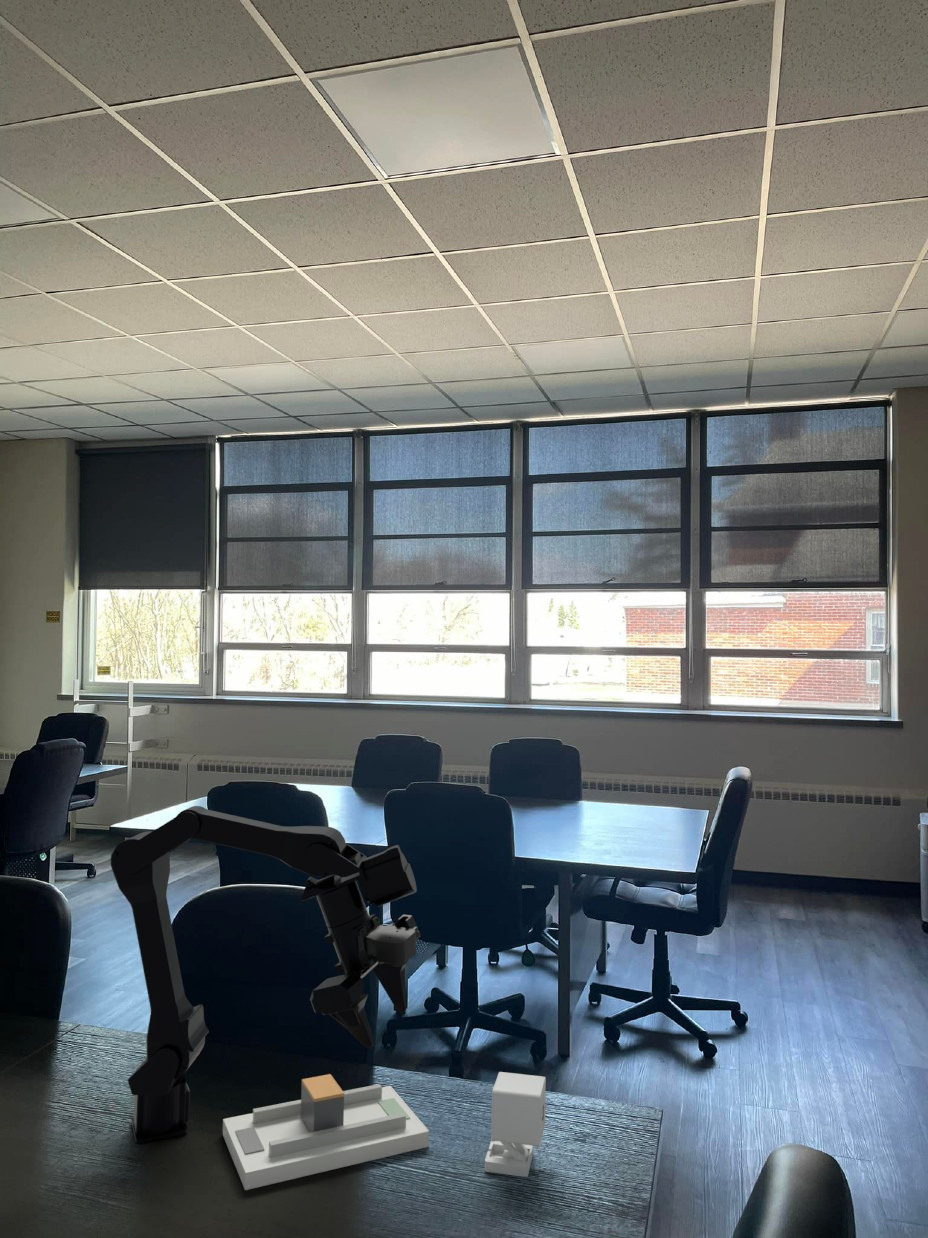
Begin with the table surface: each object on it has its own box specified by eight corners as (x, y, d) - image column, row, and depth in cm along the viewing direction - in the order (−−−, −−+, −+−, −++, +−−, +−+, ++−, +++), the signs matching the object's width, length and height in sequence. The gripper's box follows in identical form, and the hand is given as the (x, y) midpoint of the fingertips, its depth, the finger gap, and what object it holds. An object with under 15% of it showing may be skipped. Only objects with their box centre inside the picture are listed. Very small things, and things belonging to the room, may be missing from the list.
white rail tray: (245, 1190, 105) (246, 1160, 106) (222, 1134, 118) (223, 1107, 118) (428, 1147, 116) (429, 1119, 116) (390, 1100, 128) (390, 1075, 129)
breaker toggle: (313, 1138, 113) (314, 1099, 114) (300, 1117, 119) (301, 1079, 119) (343, 1132, 115) (344, 1093, 115) (329, 1111, 120) (330, 1074, 121)
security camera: (539, 1181, 109) (540, 1097, 109) (483, 1173, 110) (485, 1091, 111) (545, 1154, 115) (546, 1074, 115) (492, 1147, 116) (493, 1069, 117)
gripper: (359, 935, 109) (403, 1057, 107) (426, 880, 126) (465, 985, 124) (290, 952, 113) (332, 1070, 112) (363, 898, 130) (401, 999, 129)
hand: (387, 1028), depth 119 cm, fingers open, 9 cm apart
